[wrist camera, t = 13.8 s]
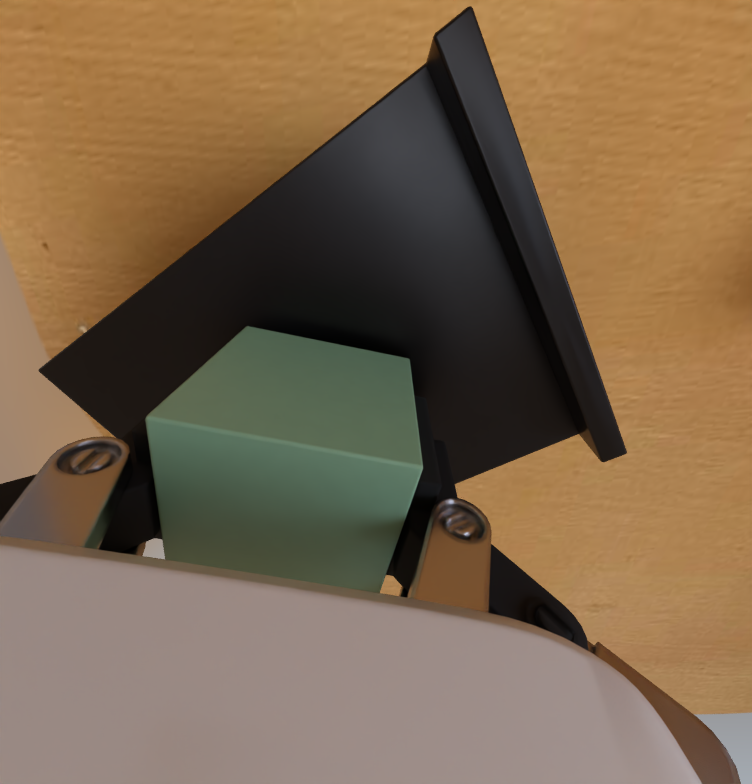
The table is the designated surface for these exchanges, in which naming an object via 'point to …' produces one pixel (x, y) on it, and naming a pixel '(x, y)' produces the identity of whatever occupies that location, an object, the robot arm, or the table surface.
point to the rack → (383, 276)
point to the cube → (288, 460)
